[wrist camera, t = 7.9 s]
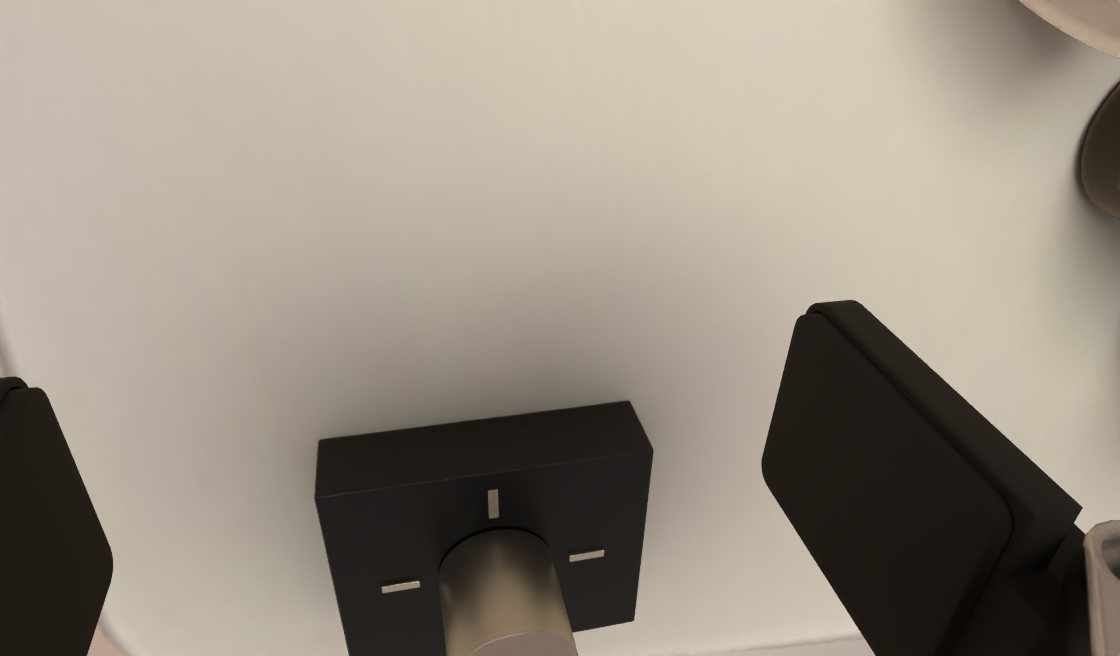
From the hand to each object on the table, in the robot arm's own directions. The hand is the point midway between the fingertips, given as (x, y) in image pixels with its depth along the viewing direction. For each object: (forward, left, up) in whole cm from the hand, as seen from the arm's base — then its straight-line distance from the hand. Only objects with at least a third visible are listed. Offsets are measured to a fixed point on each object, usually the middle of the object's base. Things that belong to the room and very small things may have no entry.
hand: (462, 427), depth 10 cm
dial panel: (+2, -17, -15) cm, 23 cm away
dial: (+2, -17, -12) cm, 21 cm away
